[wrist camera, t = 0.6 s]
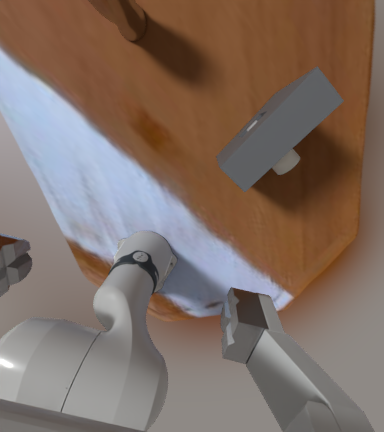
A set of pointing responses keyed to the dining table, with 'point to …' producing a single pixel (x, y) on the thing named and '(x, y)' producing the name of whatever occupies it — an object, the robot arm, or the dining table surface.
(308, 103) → the control block
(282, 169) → the knob
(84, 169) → the dining table surface
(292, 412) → the robot arm
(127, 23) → the beer glass
